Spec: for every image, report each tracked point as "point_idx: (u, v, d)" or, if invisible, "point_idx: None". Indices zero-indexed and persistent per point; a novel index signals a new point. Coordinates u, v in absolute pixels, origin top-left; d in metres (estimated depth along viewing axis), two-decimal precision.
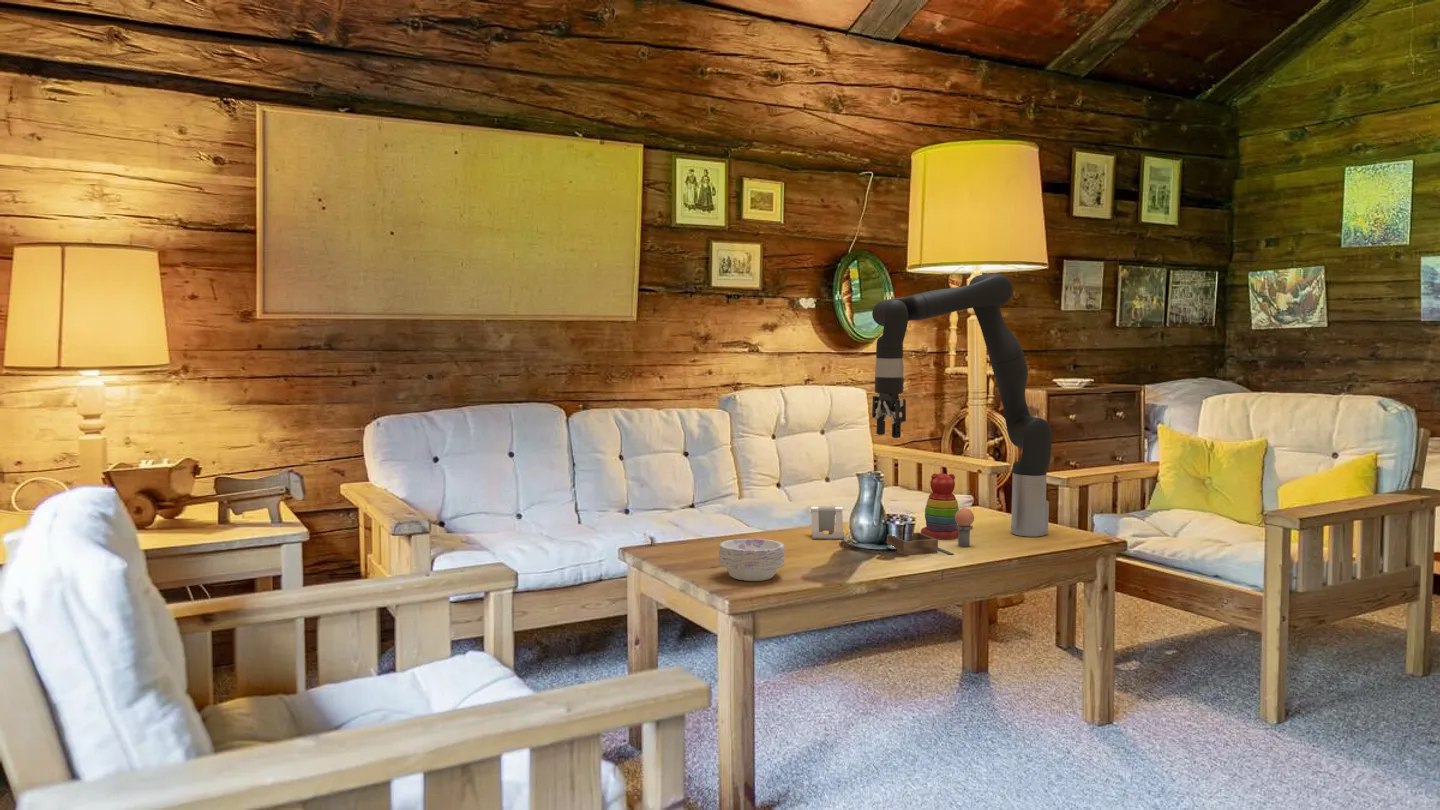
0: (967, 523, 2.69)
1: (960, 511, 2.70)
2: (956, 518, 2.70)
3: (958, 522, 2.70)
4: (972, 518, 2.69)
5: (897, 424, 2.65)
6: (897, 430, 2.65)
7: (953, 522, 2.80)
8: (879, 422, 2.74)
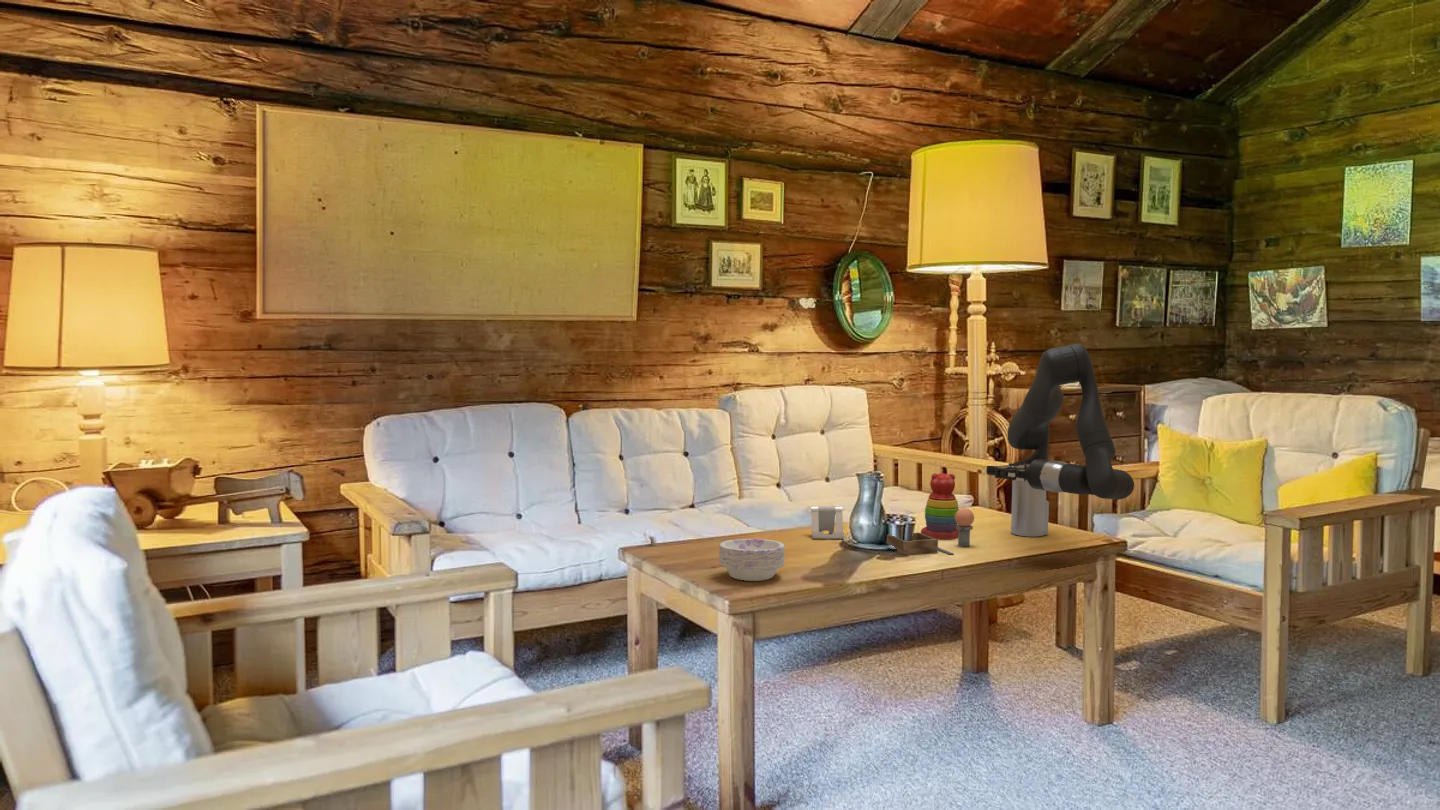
0: (967, 523, 2.69)
1: (960, 511, 2.70)
2: (956, 518, 2.70)
3: (958, 522, 2.70)
4: (972, 518, 2.69)
5: None
6: None
7: (953, 522, 2.80)
8: None
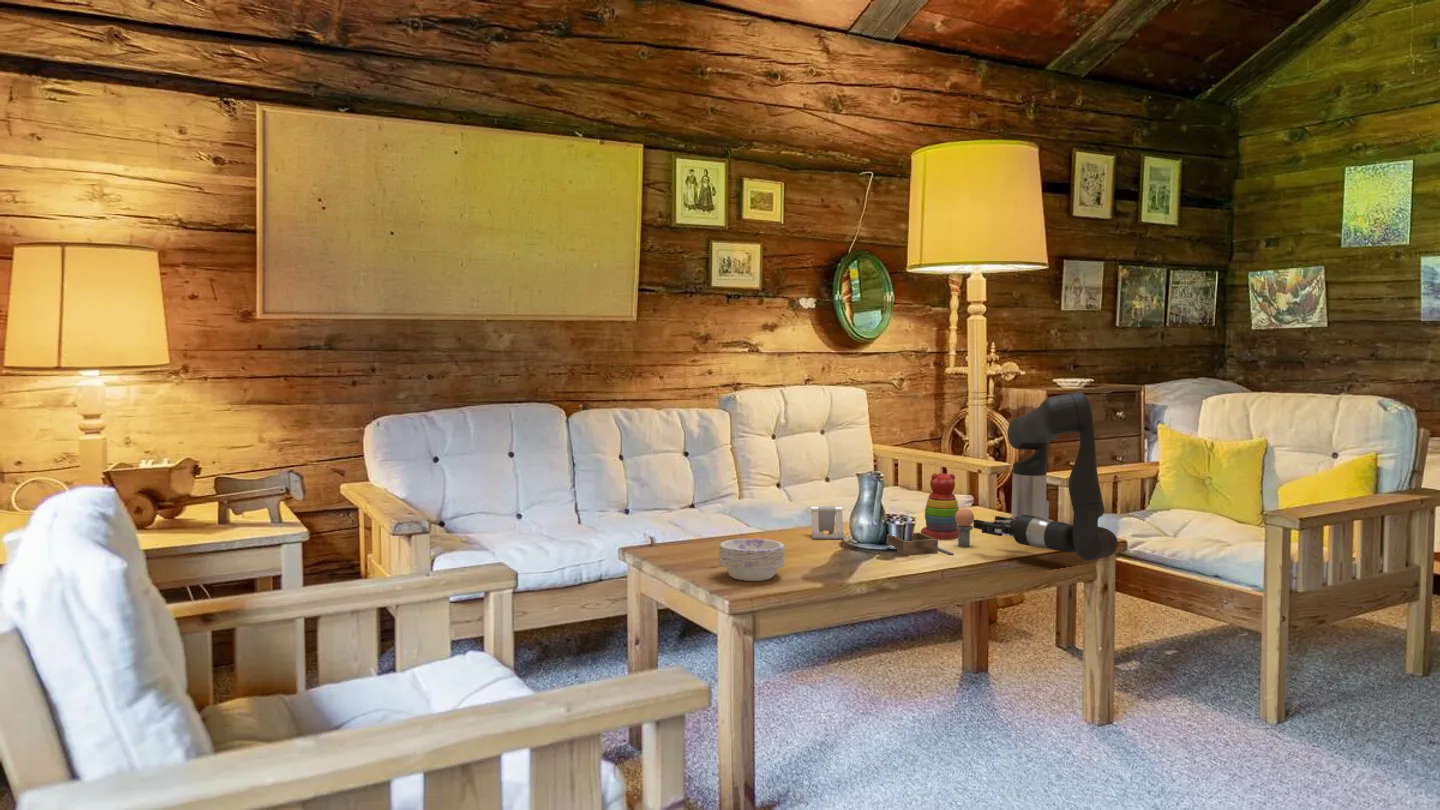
0: (967, 523, 2.69)
1: (960, 511, 2.70)
2: (956, 518, 2.70)
3: (958, 522, 2.70)
4: (972, 518, 2.69)
5: None
6: None
7: (953, 522, 2.80)
8: None
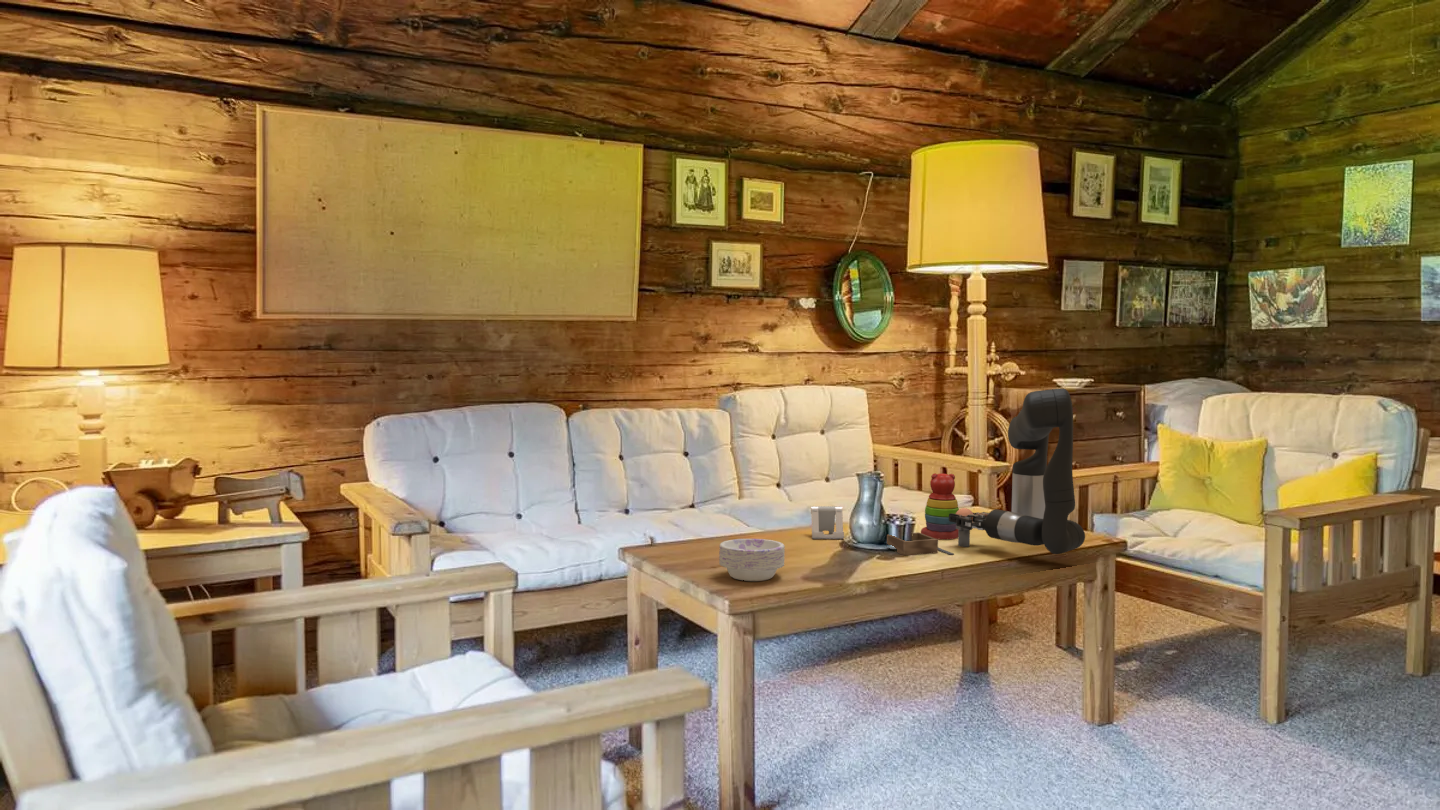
0: None
1: (960, 511, 2.70)
2: None
3: None
4: (972, 518, 2.69)
5: None
6: None
7: (953, 522, 2.80)
8: None
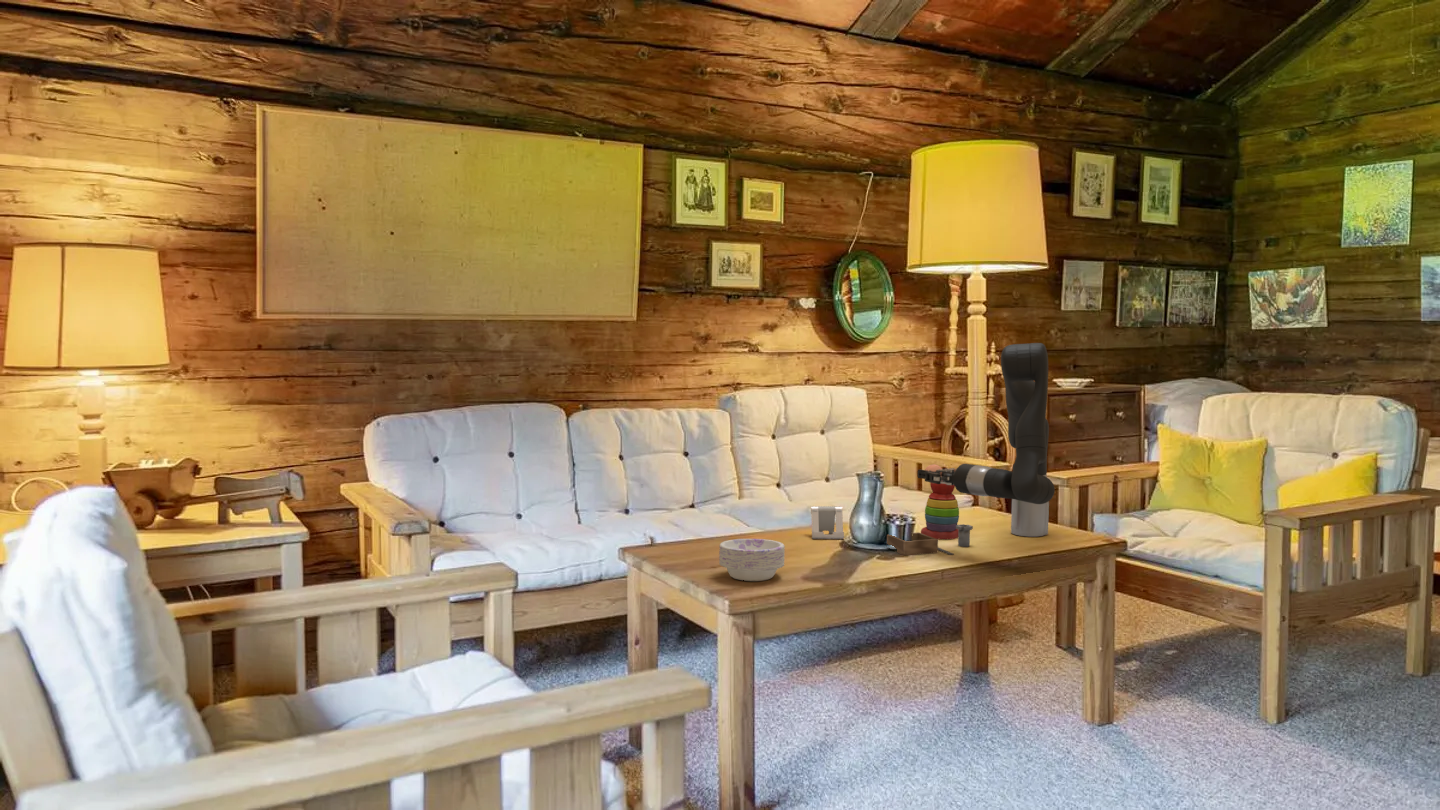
0: None
1: (929, 467, 2.64)
2: None
3: None
4: None
5: None
6: None
7: (953, 522, 2.80)
8: None
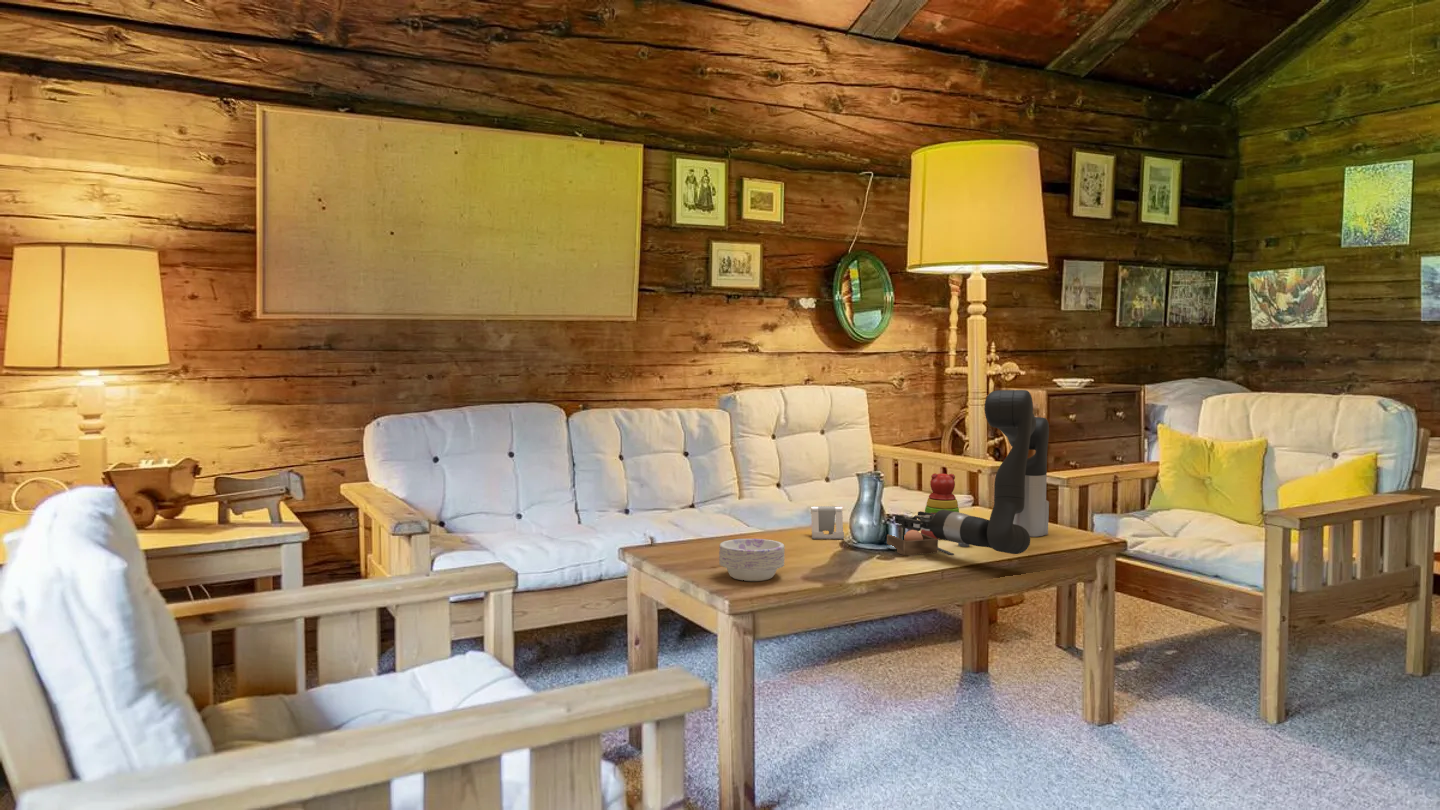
0: None
1: (909, 533, 2.64)
2: None
3: None
4: None
5: None
6: None
7: None
8: None
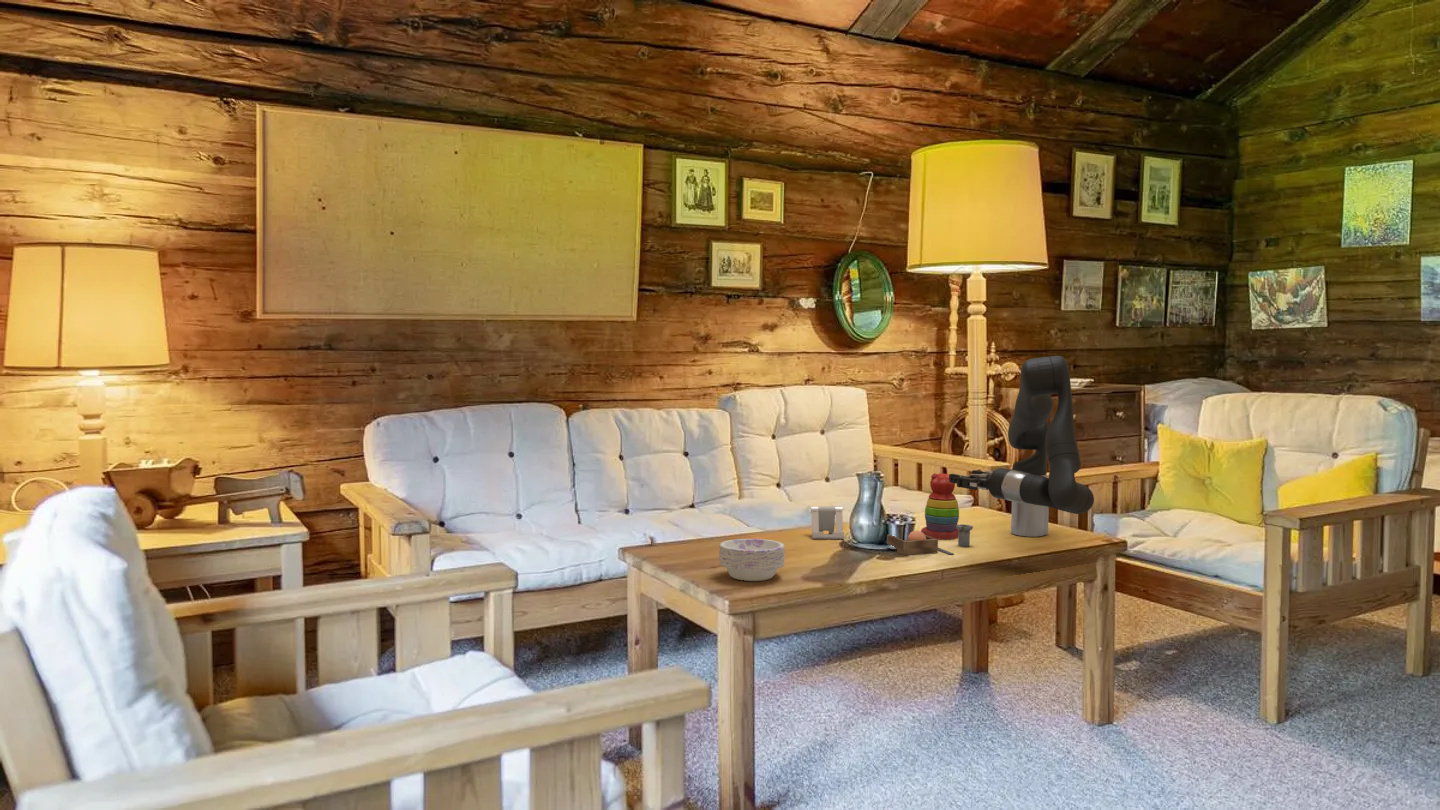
0: None
1: (915, 535, 2.63)
2: (908, 539, 2.64)
3: None
4: None
5: None
6: None
7: (953, 522, 2.80)
8: None
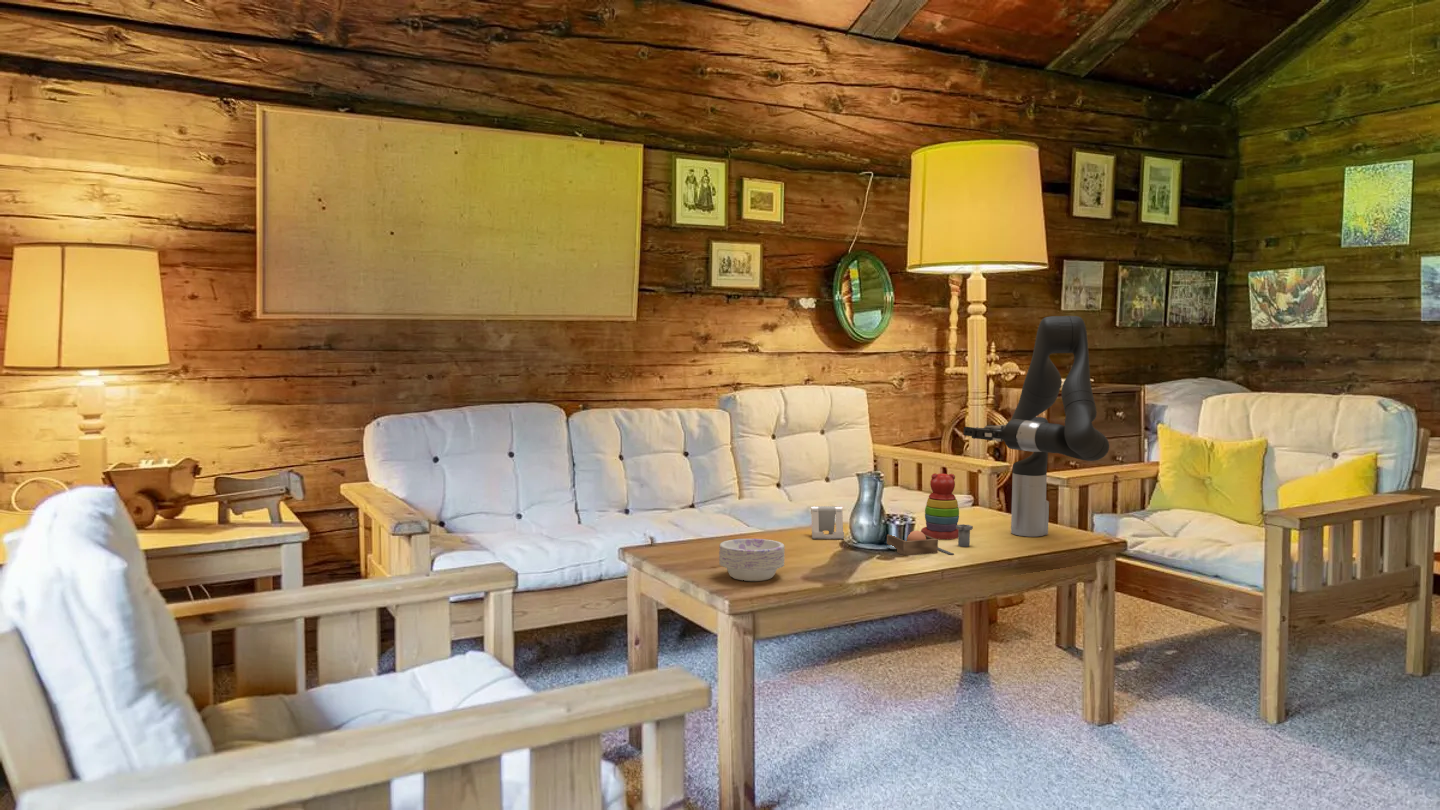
0: None
1: (915, 535, 2.63)
2: (908, 539, 2.64)
3: None
4: None
5: None
6: None
7: (953, 522, 2.80)
8: None
